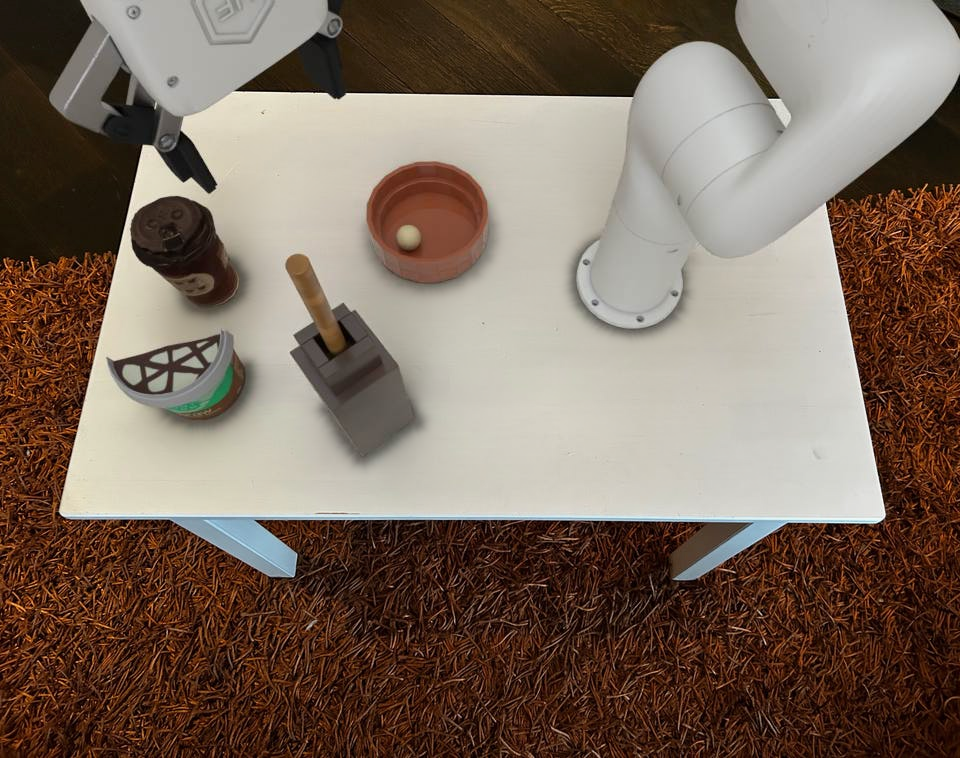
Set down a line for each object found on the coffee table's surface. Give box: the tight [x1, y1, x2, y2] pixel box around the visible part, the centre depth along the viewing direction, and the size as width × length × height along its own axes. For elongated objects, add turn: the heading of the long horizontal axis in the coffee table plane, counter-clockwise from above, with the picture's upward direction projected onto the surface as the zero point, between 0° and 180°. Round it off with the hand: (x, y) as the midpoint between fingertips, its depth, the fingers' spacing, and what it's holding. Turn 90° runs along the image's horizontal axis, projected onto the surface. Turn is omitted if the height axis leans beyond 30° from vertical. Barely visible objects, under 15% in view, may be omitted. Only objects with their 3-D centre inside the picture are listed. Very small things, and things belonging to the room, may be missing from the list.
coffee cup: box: [129, 195, 240, 308], centre depth 72 cm, size 9×8×13 cm
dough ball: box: [396, 225, 421, 250], centre depth 78 cm, size 3×3×3 cm
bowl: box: [365, 160, 489, 283], centre depth 78 cm, size 14×14×5 cm
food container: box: [105, 327, 246, 421], centre depth 68 cm, size 12×6×10 cm, turn 106°
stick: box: [284, 253, 349, 358], centre depth 50 cm, size 2×2×16 cm
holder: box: [289, 302, 415, 458], centre depth 63 cm, size 7×7×20 cm
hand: (264, 130), depth 39 cm, fingers open, 9 cm apart
